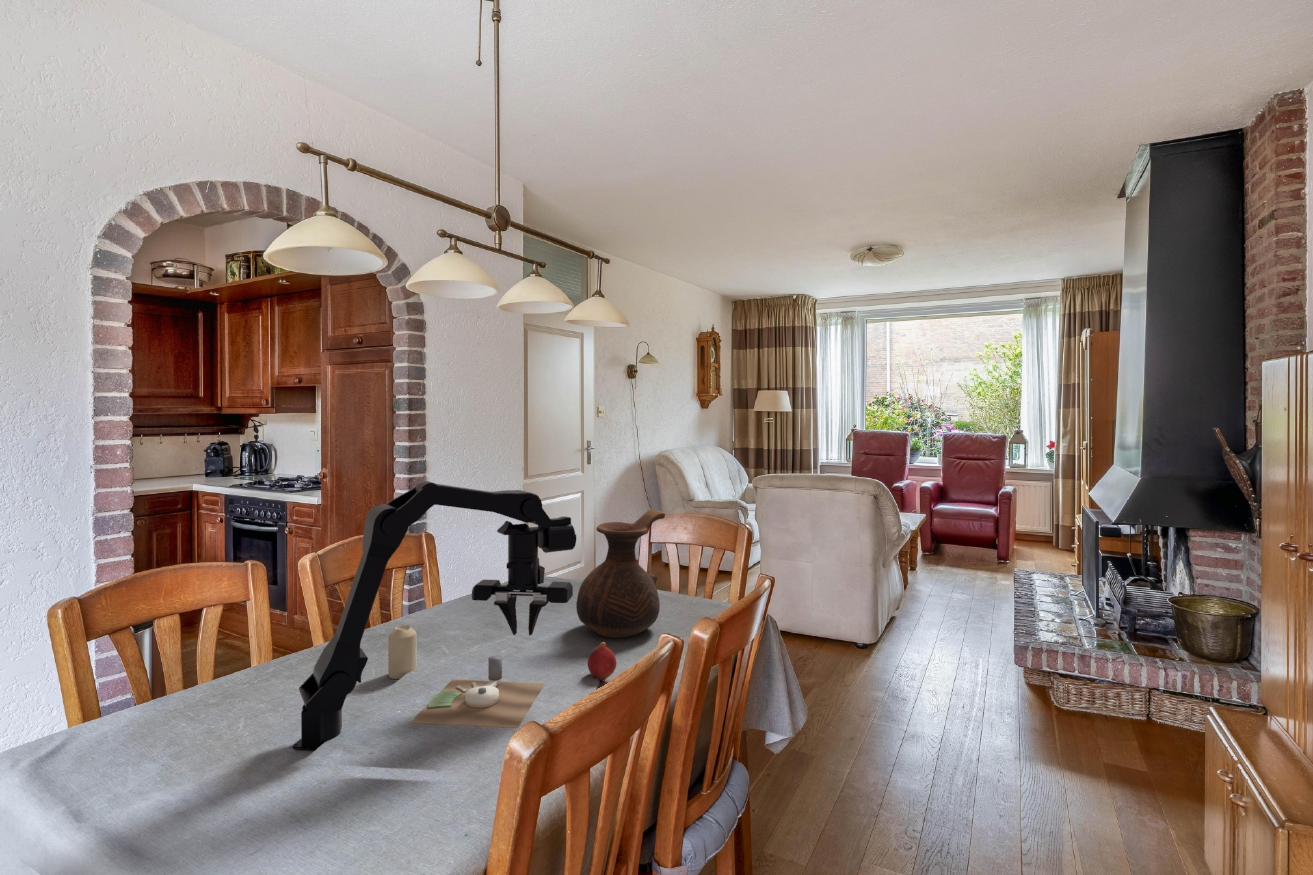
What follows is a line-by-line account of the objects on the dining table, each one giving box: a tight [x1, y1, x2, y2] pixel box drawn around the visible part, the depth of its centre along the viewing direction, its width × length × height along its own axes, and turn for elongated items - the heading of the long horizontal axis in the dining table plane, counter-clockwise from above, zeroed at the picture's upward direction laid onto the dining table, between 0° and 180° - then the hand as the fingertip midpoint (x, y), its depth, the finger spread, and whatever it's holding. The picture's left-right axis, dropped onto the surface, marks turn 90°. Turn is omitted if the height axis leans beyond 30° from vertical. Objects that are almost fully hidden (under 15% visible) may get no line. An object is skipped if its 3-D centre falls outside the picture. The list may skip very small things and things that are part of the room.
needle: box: [465, 654, 503, 708], centre depth 126 cm, size 12×6×5 cm, turn 175°
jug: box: [576, 509, 666, 639], centre depth 169 cm, size 22×22×30 cm
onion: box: [587, 641, 617, 682], centre depth 137 cm, size 6×6×8 cm
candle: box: [387, 624, 417, 680], centre depth 139 cm, size 6×6×10 cm
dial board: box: [409, 679, 546, 729], centre depth 124 cm, size 19×19×2 cm
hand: (522, 634), depth 130 cm, fingers open, 3 cm apart
